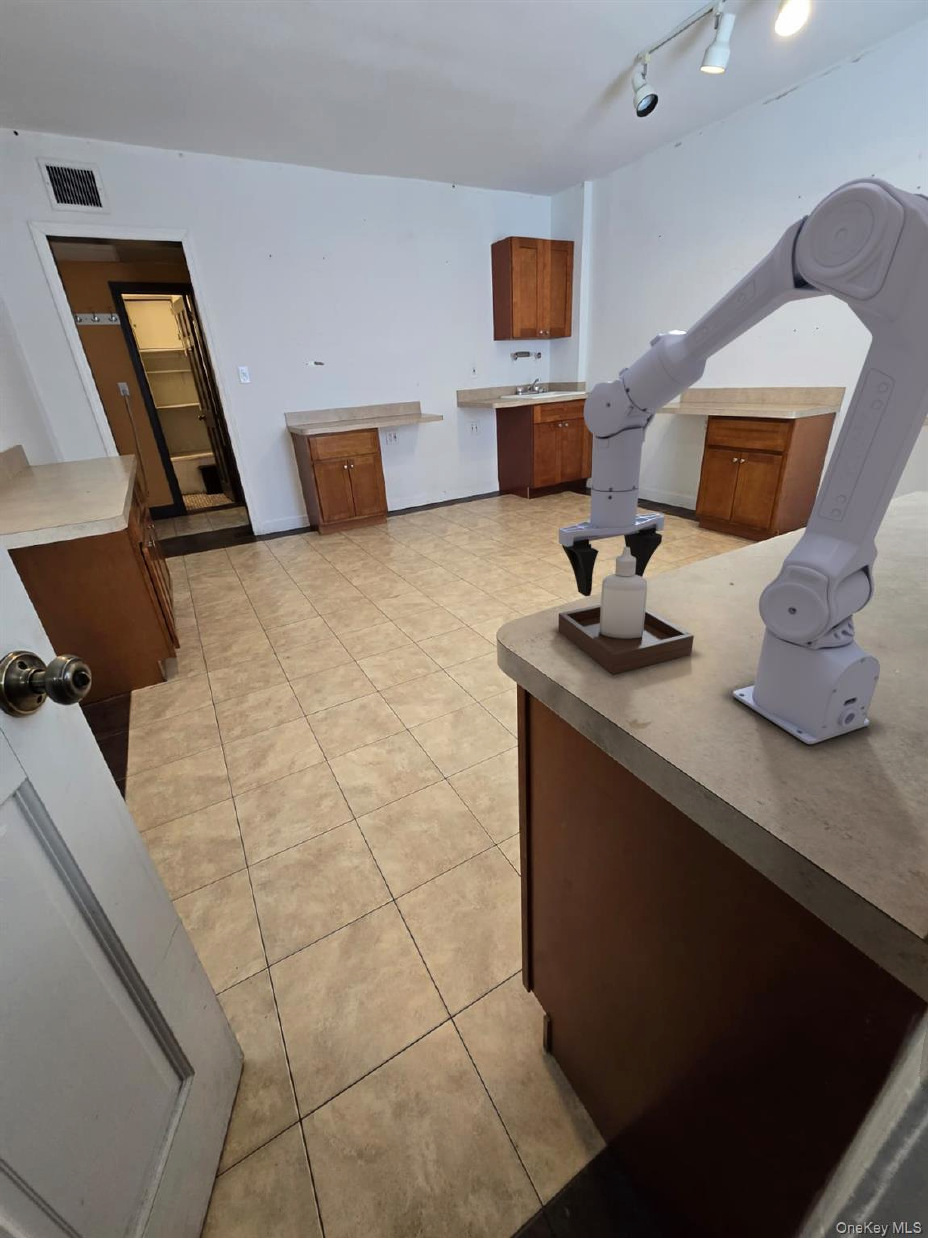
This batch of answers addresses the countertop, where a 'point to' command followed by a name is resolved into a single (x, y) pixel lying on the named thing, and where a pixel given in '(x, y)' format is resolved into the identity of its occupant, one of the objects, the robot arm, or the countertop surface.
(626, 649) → the tray
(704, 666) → the countertop surface
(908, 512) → the countertop surface
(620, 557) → the eye dropper bottle
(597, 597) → the countertop surface
